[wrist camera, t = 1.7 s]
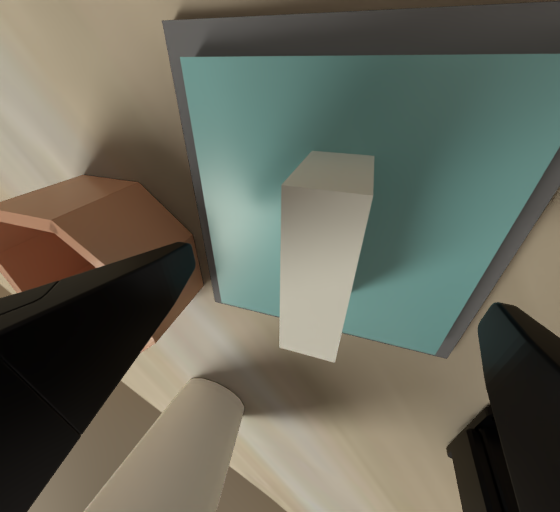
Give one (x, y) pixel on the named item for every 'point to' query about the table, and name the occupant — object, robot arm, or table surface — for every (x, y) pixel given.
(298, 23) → the mat
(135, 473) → the foam cup
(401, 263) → the cover plate
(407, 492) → the table surface
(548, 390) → the robot arm
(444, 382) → the table surface
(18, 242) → the bowl
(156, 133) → the table surface
